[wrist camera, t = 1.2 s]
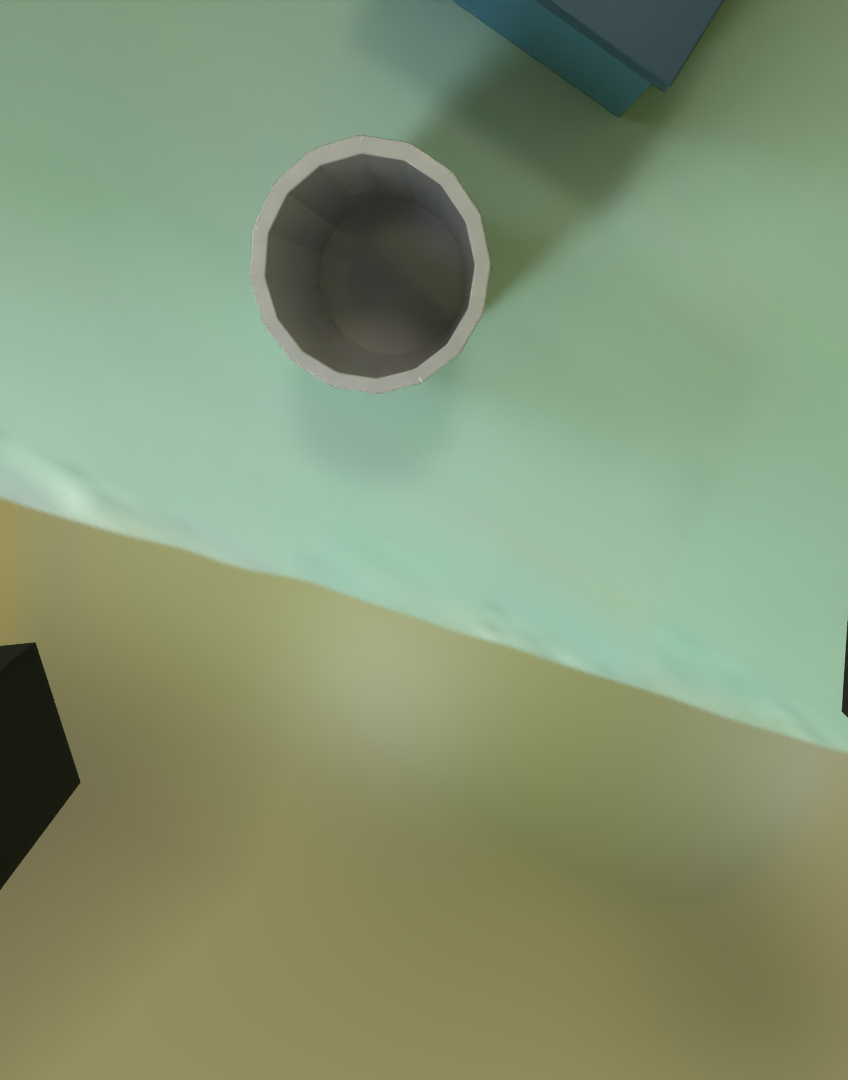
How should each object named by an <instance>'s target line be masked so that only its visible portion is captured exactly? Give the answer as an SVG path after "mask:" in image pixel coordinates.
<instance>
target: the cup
mask: <svg viewBox="0 0 848 1080" xmlns="http://www.w3.org/2000/svg"><path fill="white" fill-rule="evenodd" d="M490 264H491V260H490V255H489V250H488V246H487V241H486V236H485V231H484V226H483V222H482V217H481V215H480V212H479V211H478V209H477V208H476V206H475V204H474V203H473V201H472V200H471V198H470V197H469V195H468V194H467V192H466V191H465V189H464V188H463V186H462V185H461V183H460V182H459V180H458V179H457V177H456V176H455V174H454V173H453V172H451V170H450V169H449V168H447V167H446V166H444V165H443V164H441V163H440V162H438V161H437V160H435V159H434V158H432V157H431V156H429V155H428V154H426V153H425V152H423V151H422V150H420V149H419V148H417V147H416V146H414V145H413V144H409V143H408V142H403V141H396V140H390V139H384V138H378V137H372V136H365V135H361V136H360V135H357V136H354V137H350V138H347V139H343V140H340V141H336V142H333V143H330V144H326V145H323V146H319V147H316V148H314V149H313V150H310V151H309V152H308V153H307V154H306V155H305V156H303V157H302V158H301V159H300V160H299V161H298V162H296V163H295V164H294V165H293V166H292V167H291V168H290V169H288V170H287V171H286V172H285V173H284V174H283V175H282V176H280V177H279V178H278V179H277V180H276V182H275V183H274V184H273V186H272V188H271V190H270V192H269V194H268V196H267V199H266V201H265V203H264V205H263V207H262V209H261V211H260V213H259V215H258V217H257V219H256V221H255V224H254V228H253V232H252V247H251V261H250V277H251V278H250V282H251V285H252V288H253V291H254V295H255V298H256V301H257V304H258V308H259V311H260V314H261V318H262V321H263V324H264V325H265V327H266V329H267V330H268V331H269V332H270V334H271V335H272V336H273V338H274V339H275V340H276V341H277V343H278V344H279V345H280V347H281V348H282V349H283V351H284V352H285V353H286V354H287V356H288V357H289V358H290V360H291V361H292V362H293V363H294V364H295V365H297V366H299V367H300V368H302V369H304V370H305V371H307V372H309V373H310V374H312V375H314V376H315V377H317V378H319V379H320V380H322V381H324V382H325V383H327V384H329V385H330V386H334V387H335V388H341V389H348V390H354V391H361V392H367V393H374V394H378V393H379V394H381V393H385V392H389V391H393V390H396V389H400V388H404V387H408V386H412V385H416V384H420V383H421V382H424V381H425V380H426V379H428V378H429V377H430V376H432V375H433V374H434V373H436V372H437V371H438V370H440V369H441V368H442V367H444V366H445V365H446V364H448V363H449V362H450V361H452V360H453V359H454V358H456V357H457V356H458V355H459V354H460V352H461V350H462V349H463V347H464V345H465V344H466V342H467V340H468V339H469V337H470V335H471V334H472V332H473V330H474V329H475V327H476V325H477V324H478V322H479V320H480V319H481V317H482V313H483V312H484V306H485V300H486V294H487V288H488V282H489V276H490V270H491V265H490Z"/></svg>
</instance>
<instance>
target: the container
mask: <svg viewBox="0 0 848 1080" xmlns="http://www.w3.org/2000/svg"><path fill="white" fill-rule="evenodd" d="M453 1H454V2H455V3H457V4H458V5H460V6H461V7H462V8H464V9H465V10H467V11H468V12H470V13H471V14H472V15H474V16H475V17H477V18H478V19H480V20H481V21H482V22H484V23H485V24H487V25H488V26H489V27H491V28H492V29H494V30H495V31H497V32H498V33H499V34H501V35H502V36H504V37H505V38H507V39H508V40H509V41H511V42H512V43H514V44H515V45H516V46H518V47H519V48H521V49H522V50H524V51H525V52H526V53H528V54H529V55H531V56H532V57H534V58H535V59H536V60H538V61H539V62H541V63H542V64H543V65H545V66H546V67H548V68H549V69H551V70H552V71H553V72H555V73H556V74H558V75H559V76H561V77H562V78H563V79H565V80H566V81H568V82H569V83H570V84H572V85H573V86H575V87H576V88H578V89H579V90H580V91H582V92H583V93H585V94H586V95H588V96H589V97H590V98H592V99H593V100H595V101H596V102H597V103H599V104H600V105H602V106H603V107H605V108H606V109H607V110H609V111H610V112H612V113H613V114H615V115H616V116H617V117H620V116H621V115H622V114H623V113H624V112H625V111H626V110H627V109H628V108H629V107H630V106H631V105H632V104H633V103H634V102H635V101H636V100H637V99H638V98H639V97H640V96H641V95H642V94H643V93H644V92H645V91H646V89H647V88H648V87H649V86H650V85H651V84H652V85H654V86H655V87H657V88H658V89H659V90H661V91H662V92H665V91H666V90H667V89H668V88H669V87H670V86H671V85H672V84H673V82H674V80H675V79H676V77H677V75H678V74H679V72H680V71H681V69H682V67H683V66H684V64H685V63H686V61H687V59H688V58H689V56H690V54H691V53H692V51H693V50H694V48H695V46H696V45H697V43H698V41H699V40H700V38H701V37H702V35H703V33H704V32H705V30H706V28H707V27H708V25H709V24H710V22H711V20H712V19H713V17H714V16H715V14H716V12H717V11H718V9H719V7H720V6H721V4H722V3H723V1H724V0H453Z"/></svg>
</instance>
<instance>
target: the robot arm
mask: <svg viewBox="0 0 848 1080" xmlns="http://www.w3.org/2000/svg"><path fill="white" fill-rule="evenodd" d="M842 712H843V713H844V714H845V715H846V716H847V717H848V623H847V638H846V654H845V670H844V685H843V701H842ZM79 784H80V779H79V776H78V773H77V770H76V767H75V764H74V761H73V758H72V754H71V751H70V748H69V745H68V742H67V739H66V736H65V733H64V730H63V726H62V723H61V720H60V717H59V714H58V711H57V708H56V705H55V702H54V698H53V696H52V693H51V689H50V686H49V683H48V680H47V677H46V674H45V670H44V668H43V664H42V661H41V658H40V655H39V652H38V649H37V646H36V643H35V642H34V643H25V644H16V645H5V646H0V890H1V888H2V887H3V885H4V884H5V883H6V881H7V880H8V879H9V877H10V876H11V875H12V873H13V872H14V871H15V869H16V868H17V867H18V865H19V864H20V863H21V861H22V860H23V859H24V857H25V856H26V855H27V853H28V852H29V851H30V849H31V848H32V847H33V845H34V844H35V843H36V841H37V840H38V838H39V837H40V836H41V834H42V833H43V832H44V830H45V829H46V828H47V827H48V825H49V824H50V823H51V821H52V820H53V819H54V817H55V815H56V814H57V813H58V812H59V810H60V809H61V808H62V806H63V805H64V804H65V802H66V801H67V800H68V798H69V797H70V796H71V794H72V793H73V792H74V790H75V789H76V788H77V786H78V785H79Z"/></svg>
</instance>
